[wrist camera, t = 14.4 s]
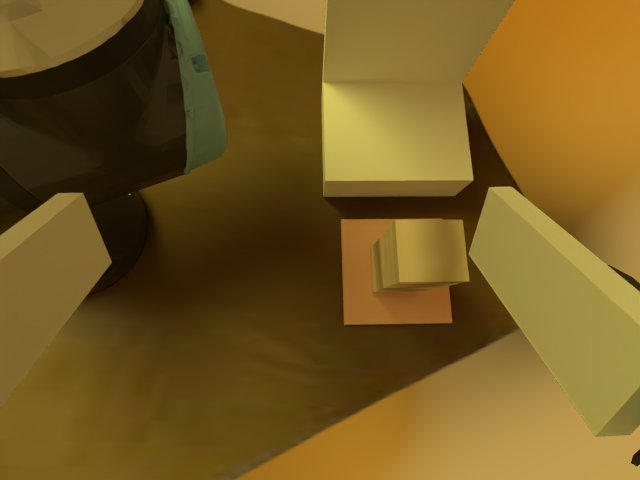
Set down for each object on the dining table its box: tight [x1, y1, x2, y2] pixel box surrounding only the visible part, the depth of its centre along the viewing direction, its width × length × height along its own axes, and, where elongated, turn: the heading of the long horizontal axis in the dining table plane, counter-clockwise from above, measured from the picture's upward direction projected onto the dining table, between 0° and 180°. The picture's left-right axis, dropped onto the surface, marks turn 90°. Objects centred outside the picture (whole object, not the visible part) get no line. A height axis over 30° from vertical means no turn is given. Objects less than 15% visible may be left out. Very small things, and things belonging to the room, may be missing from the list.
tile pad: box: [341, 219, 452, 325], centre depth 39 cm, size 12×12×1 cm
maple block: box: [370, 220, 469, 293], centre depth 33 cm, size 6×5×12 cm
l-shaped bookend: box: [322, 0, 515, 197], centre depth 31 cm, size 16×14×24 cm
